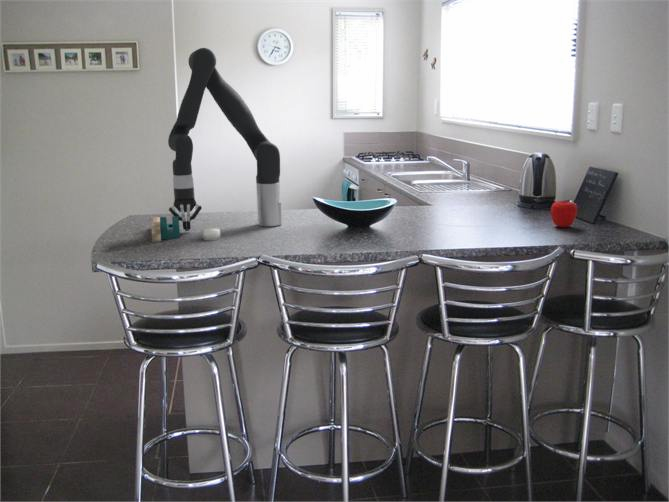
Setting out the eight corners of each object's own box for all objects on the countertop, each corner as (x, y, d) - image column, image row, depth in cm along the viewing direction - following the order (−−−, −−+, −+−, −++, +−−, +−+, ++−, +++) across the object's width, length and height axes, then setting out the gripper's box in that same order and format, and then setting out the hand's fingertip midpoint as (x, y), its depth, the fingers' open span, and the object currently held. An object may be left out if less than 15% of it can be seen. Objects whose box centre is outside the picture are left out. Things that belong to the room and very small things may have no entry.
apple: (545, 227, 259) (547, 199, 256) (556, 223, 266) (558, 196, 263) (569, 230, 253) (571, 202, 250) (580, 226, 259) (582, 199, 257)
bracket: (179, 238, 250) (178, 217, 248) (161, 239, 249) (159, 219, 247) (179, 228, 267) (178, 209, 265) (162, 229, 266) (160, 210, 264)
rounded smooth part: (220, 236, 253) (219, 227, 252) (221, 240, 246) (220, 230, 246) (202, 237, 251) (202, 228, 250) (203, 241, 245) (202, 231, 244)
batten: (162, 227, 268) (161, 216, 266) (160, 241, 245) (159, 229, 244) (154, 228, 267) (153, 216, 266) (152, 241, 244) (151, 229, 243)
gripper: (200, 183, 259) (204, 227, 263) (166, 185, 256) (169, 229, 260) (201, 186, 252) (204, 231, 256) (165, 188, 249) (169, 233, 253)
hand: (186, 230), depth 258 cm, fingers closed
